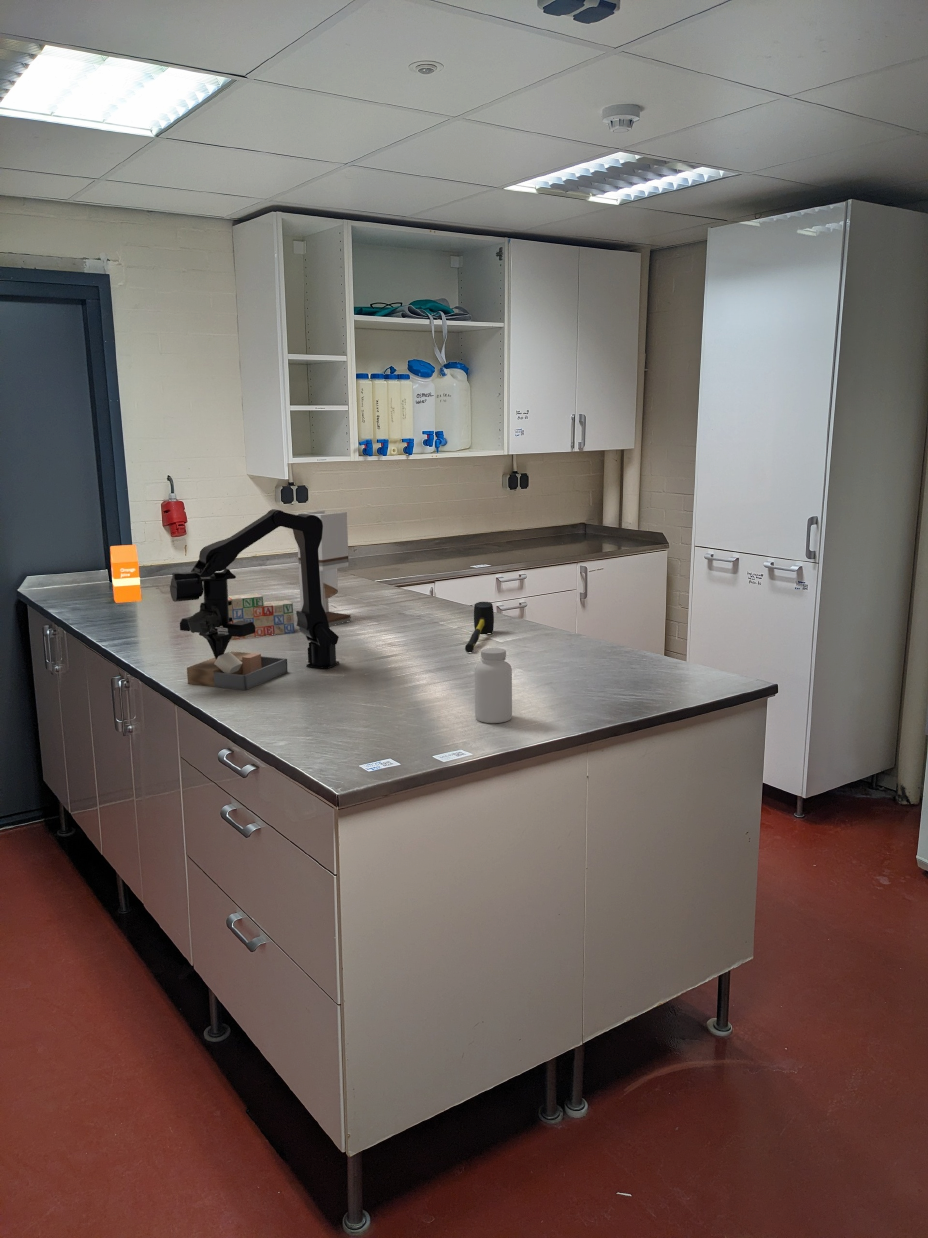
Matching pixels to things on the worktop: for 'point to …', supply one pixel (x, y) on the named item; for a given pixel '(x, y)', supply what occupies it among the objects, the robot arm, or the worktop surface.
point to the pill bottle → (493, 687)
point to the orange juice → (125, 573)
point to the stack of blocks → (262, 614)
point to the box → (252, 675)
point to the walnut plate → (209, 671)
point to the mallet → (481, 623)
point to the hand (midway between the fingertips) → (218, 660)
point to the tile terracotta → (251, 663)
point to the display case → (330, 559)
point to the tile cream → (228, 663)
